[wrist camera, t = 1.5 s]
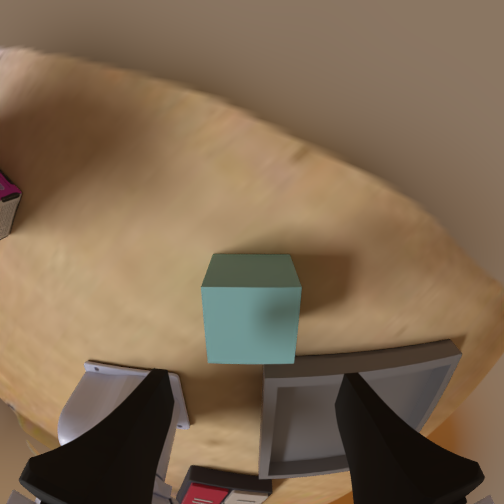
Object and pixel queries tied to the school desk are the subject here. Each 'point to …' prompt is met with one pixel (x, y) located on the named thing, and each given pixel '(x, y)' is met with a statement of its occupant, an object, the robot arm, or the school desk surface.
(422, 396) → the charcoal tray
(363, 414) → the robot arm
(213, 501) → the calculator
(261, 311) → the teal cube
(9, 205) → the candy bar box
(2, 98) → the school desk surface
